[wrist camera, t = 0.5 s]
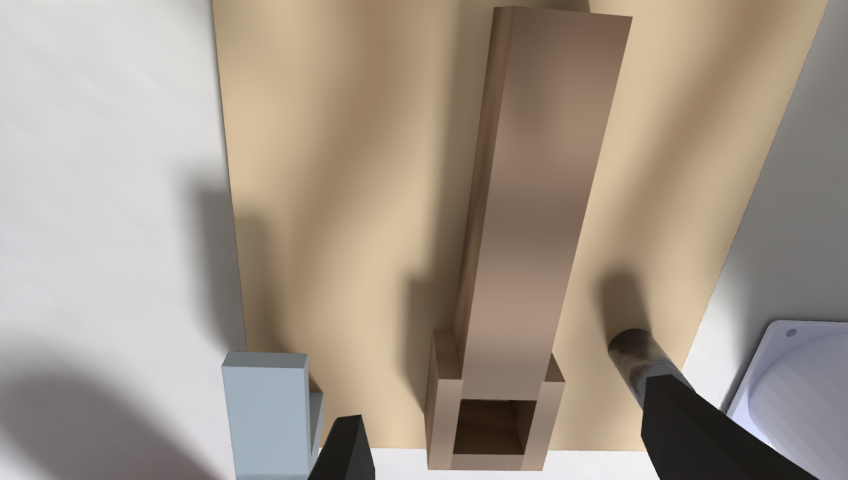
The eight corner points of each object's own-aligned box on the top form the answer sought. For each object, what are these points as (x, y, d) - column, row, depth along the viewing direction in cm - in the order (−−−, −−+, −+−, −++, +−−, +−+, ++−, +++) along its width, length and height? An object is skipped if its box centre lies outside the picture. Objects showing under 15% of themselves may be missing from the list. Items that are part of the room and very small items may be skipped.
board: (821, -27, 17) (840, -28, 16) (642, 439, 27) (649, 451, 26) (211, -89, 15) (202, -94, 14) (260, 434, 25) (256, 446, 24)
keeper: (322, 298, 21) (304, 368, 17) (323, 420, 24) (309, 504, 20) (256, 296, 20) (221, 366, 16) (266, 419, 23) (239, 504, 19)
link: (524, 416, 24) (542, 470, 21) (424, 414, 24) (427, 469, 21) (616, 18, 16) (663, 19, 14) (467, 4, 16) (483, 3, 13)
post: (659, 329, 22) (703, 383, 19) (646, 365, 23) (686, 423, 20) (614, 327, 22) (651, 381, 19) (603, 364, 23) (636, 422, 20)
